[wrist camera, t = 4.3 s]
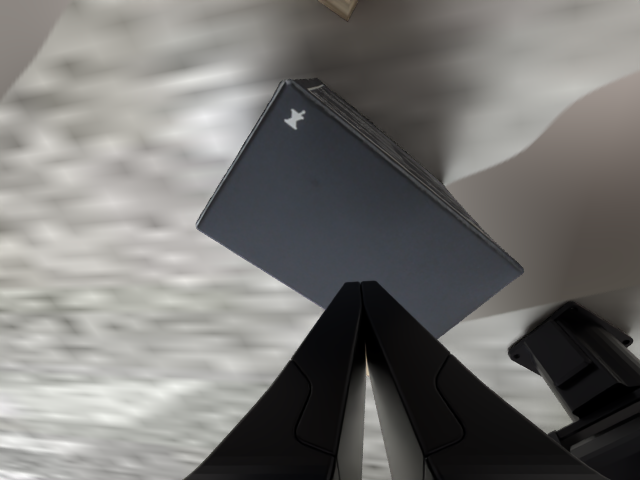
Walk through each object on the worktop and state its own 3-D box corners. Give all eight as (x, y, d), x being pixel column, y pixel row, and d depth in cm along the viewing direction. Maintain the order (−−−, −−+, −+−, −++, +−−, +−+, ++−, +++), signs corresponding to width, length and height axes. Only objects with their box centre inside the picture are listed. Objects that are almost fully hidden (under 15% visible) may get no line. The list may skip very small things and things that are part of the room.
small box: (254, 164, 20) (180, 232, 11) (313, 73, 18) (283, 60, 9) (378, 254, 23) (405, 372, 13) (446, 184, 20) (538, 269, 11)
